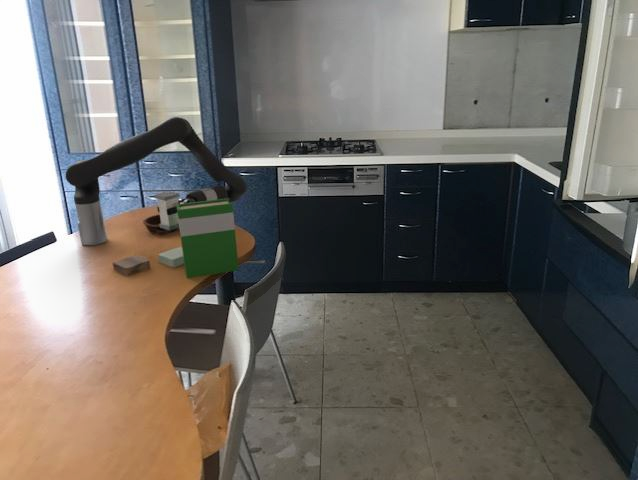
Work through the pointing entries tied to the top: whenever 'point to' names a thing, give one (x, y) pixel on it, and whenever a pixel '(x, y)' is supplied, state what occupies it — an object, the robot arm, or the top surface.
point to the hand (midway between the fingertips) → (162, 211)
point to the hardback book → (208, 237)
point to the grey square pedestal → (166, 202)
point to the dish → (156, 225)
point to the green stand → (172, 257)
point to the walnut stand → (131, 265)
